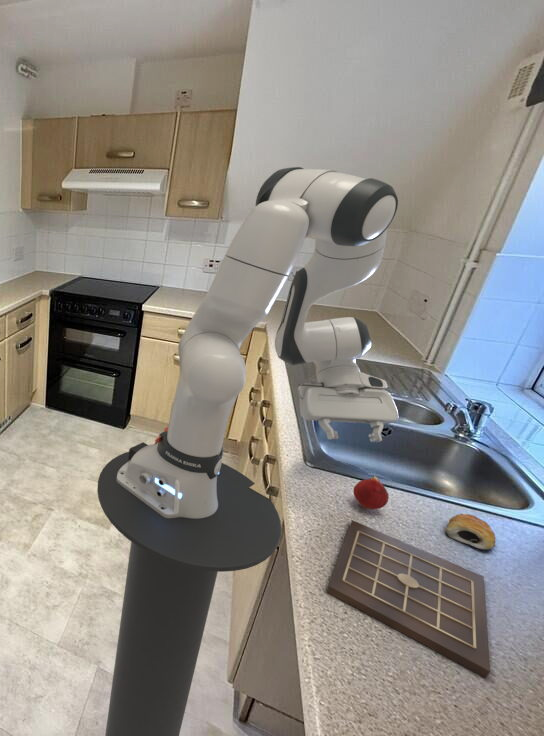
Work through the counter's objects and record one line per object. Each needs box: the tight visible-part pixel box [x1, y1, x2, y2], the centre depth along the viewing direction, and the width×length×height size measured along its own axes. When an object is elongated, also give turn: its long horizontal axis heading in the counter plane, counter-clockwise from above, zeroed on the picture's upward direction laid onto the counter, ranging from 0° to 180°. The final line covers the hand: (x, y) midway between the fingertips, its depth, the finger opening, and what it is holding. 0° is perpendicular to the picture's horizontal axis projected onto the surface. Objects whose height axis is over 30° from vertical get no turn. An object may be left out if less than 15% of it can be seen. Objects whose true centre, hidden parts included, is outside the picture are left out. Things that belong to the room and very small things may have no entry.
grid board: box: [326, 519, 491, 679], centre depth 71 cm, size 19×22×2 cm
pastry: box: [445, 513, 497, 551], centre depth 83 cm, size 9×7×4 cm
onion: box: [353, 475, 390, 510], centre depth 89 cm, size 6×6×8 cm
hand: (354, 440), depth 95 cm, fingers open, 8 cm apart
